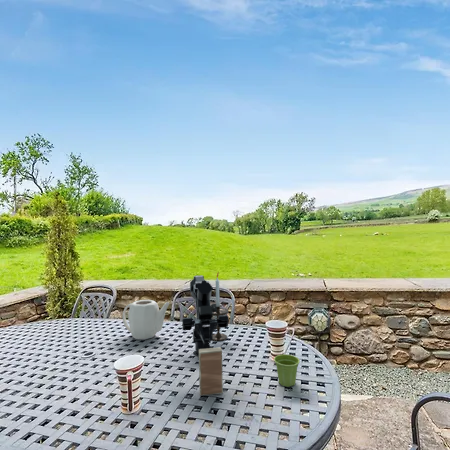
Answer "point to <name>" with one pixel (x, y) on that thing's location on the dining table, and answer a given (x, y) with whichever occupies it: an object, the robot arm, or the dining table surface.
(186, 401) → the dining table surface
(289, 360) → the plant pot
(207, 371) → the tile
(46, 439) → the dining table surface
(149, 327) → the white lidless teapot
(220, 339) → the candlestick
